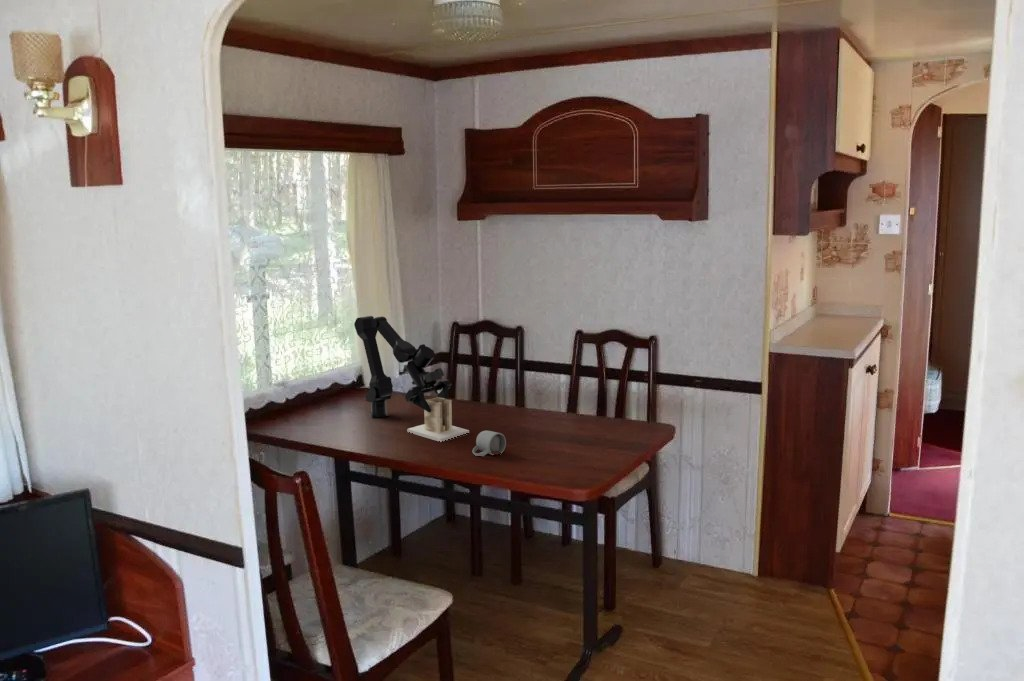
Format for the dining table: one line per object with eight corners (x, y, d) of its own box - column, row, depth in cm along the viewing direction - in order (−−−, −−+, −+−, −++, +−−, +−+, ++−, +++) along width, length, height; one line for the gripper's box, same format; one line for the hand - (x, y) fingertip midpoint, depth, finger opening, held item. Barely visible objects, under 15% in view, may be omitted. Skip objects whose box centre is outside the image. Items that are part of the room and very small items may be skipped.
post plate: (407, 432, 311) (406, 418, 310) (435, 424, 321) (435, 410, 320) (441, 442, 299) (440, 427, 298) (469, 433, 309) (469, 419, 308)
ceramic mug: (490, 447, 293) (490, 426, 291) (506, 453, 287) (506, 431, 285) (466, 454, 286) (466, 432, 284) (482, 460, 280) (482, 438, 278)
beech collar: (424, 429, 309) (424, 400, 307) (438, 425, 314) (438, 396, 312) (437, 433, 305) (437, 403, 303) (451, 429, 310) (451, 400, 308)
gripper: (409, 366, 301) (431, 401, 296) (447, 358, 315) (469, 392, 309) (395, 384, 308) (416, 419, 302) (433, 375, 321) (454, 409, 316)
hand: (439, 409), depth 307 cm, fingers open, 9 cm apart
